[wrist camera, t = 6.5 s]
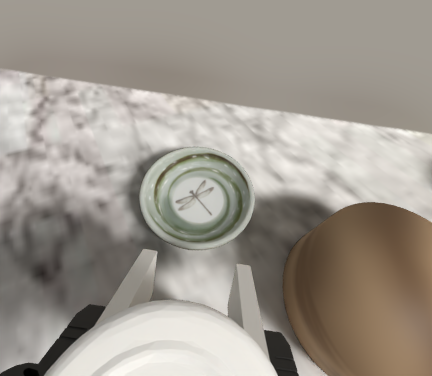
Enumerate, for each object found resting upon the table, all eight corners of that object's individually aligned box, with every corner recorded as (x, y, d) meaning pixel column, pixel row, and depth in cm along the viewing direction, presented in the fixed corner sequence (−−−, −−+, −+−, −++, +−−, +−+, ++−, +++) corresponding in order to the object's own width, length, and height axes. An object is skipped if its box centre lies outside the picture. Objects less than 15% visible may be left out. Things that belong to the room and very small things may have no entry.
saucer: (206, 281, 18) (208, 277, 16) (120, 209, 20) (112, 197, 18) (268, 197, 22) (276, 185, 20) (191, 145, 24) (191, 129, 22)
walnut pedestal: (283, 382, 15) (321, 409, 11) (281, 216, 21) (304, 190, 17) (459, 408, 15) (565, 444, 11) (407, 236, 21) (462, 216, 17)
